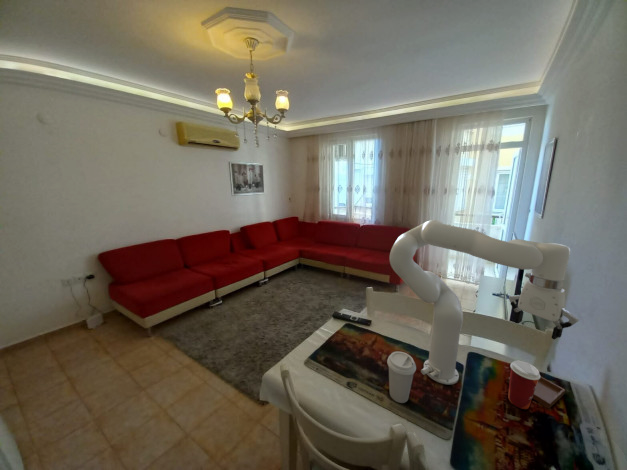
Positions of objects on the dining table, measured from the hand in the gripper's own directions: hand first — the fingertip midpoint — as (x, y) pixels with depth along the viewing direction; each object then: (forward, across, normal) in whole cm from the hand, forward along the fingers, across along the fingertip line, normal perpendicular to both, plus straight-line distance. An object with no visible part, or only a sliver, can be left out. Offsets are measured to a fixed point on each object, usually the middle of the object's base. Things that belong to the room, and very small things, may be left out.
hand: (535, 329), depth 79 cm
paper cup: (+27, 0, -3) cm, 27 cm away
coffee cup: (+27, -20, -39) cm, 51 cm away
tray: (+27, 0, +9) cm, 28 cm away
